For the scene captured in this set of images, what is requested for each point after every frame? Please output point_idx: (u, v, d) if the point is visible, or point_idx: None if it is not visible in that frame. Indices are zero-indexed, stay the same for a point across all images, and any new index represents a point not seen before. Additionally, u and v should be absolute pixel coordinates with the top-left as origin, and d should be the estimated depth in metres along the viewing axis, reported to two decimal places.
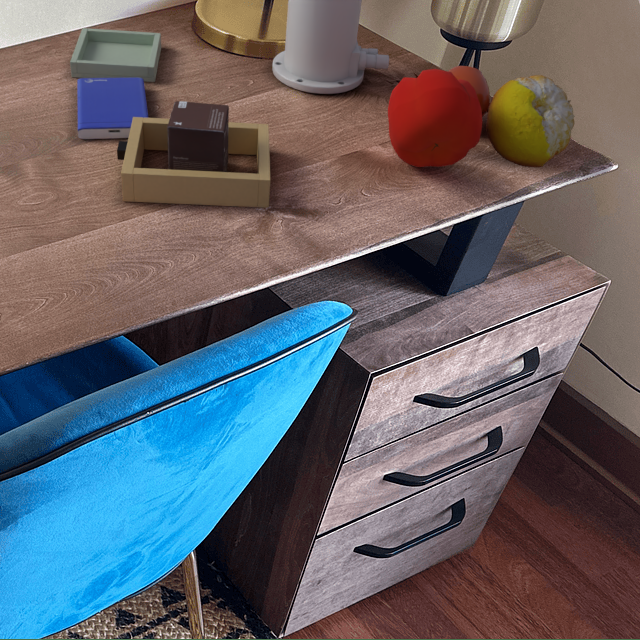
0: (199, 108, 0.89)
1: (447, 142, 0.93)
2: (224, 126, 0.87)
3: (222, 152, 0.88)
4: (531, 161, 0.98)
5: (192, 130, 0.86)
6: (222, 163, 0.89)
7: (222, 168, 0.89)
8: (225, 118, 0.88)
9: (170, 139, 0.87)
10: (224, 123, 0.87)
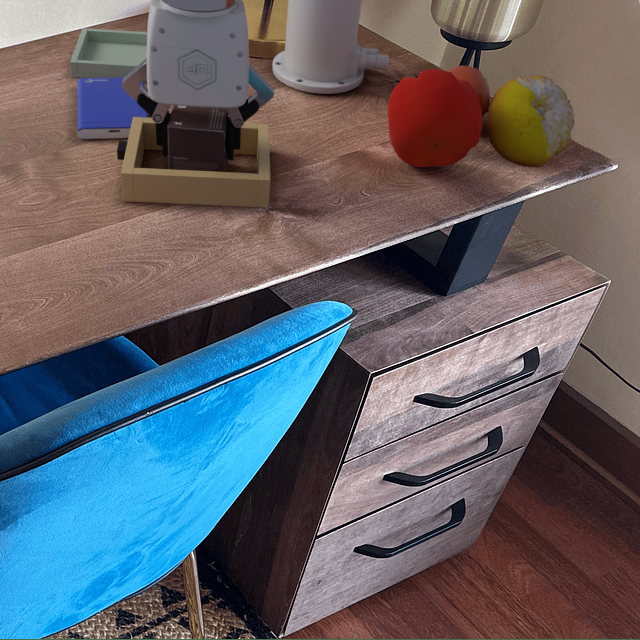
0: (199, 108, 0.89)
1: (447, 142, 0.93)
2: (224, 126, 0.87)
3: (222, 152, 0.88)
4: (531, 161, 0.98)
5: (192, 130, 0.86)
6: (222, 163, 0.89)
7: (222, 168, 0.89)
8: (225, 118, 0.88)
9: (170, 139, 0.87)
10: (224, 123, 0.87)
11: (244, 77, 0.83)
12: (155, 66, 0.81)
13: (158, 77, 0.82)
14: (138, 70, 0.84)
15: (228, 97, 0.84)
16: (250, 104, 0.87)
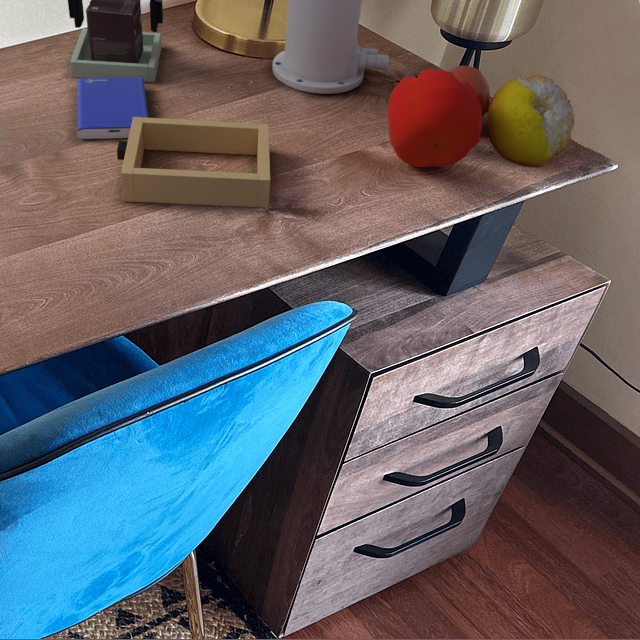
0: None
1: (447, 142, 0.93)
2: (133, 11, 1.05)
3: (132, 33, 1.06)
4: (531, 161, 0.98)
5: (106, 13, 1.04)
6: (133, 43, 1.07)
7: (134, 48, 1.07)
8: (135, 5, 1.06)
9: (88, 21, 1.05)
10: (134, 9, 1.06)
11: None
12: None
13: None
14: None
15: None
16: None
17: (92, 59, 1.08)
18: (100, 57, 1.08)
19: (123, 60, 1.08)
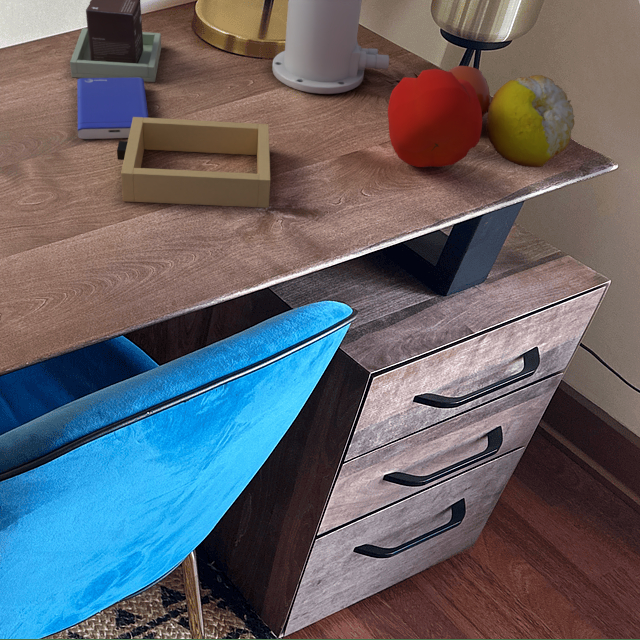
0: None
1: (447, 142, 0.93)
2: (133, 11, 1.05)
3: (132, 33, 1.06)
4: (531, 161, 0.98)
5: (106, 13, 1.04)
6: (133, 43, 1.07)
7: (134, 48, 1.07)
8: (135, 5, 1.06)
9: (88, 21, 1.05)
10: (134, 9, 1.06)
11: None
12: None
13: None
14: None
15: None
16: None
17: (92, 59, 1.08)
18: (100, 57, 1.08)
19: (123, 60, 1.08)
